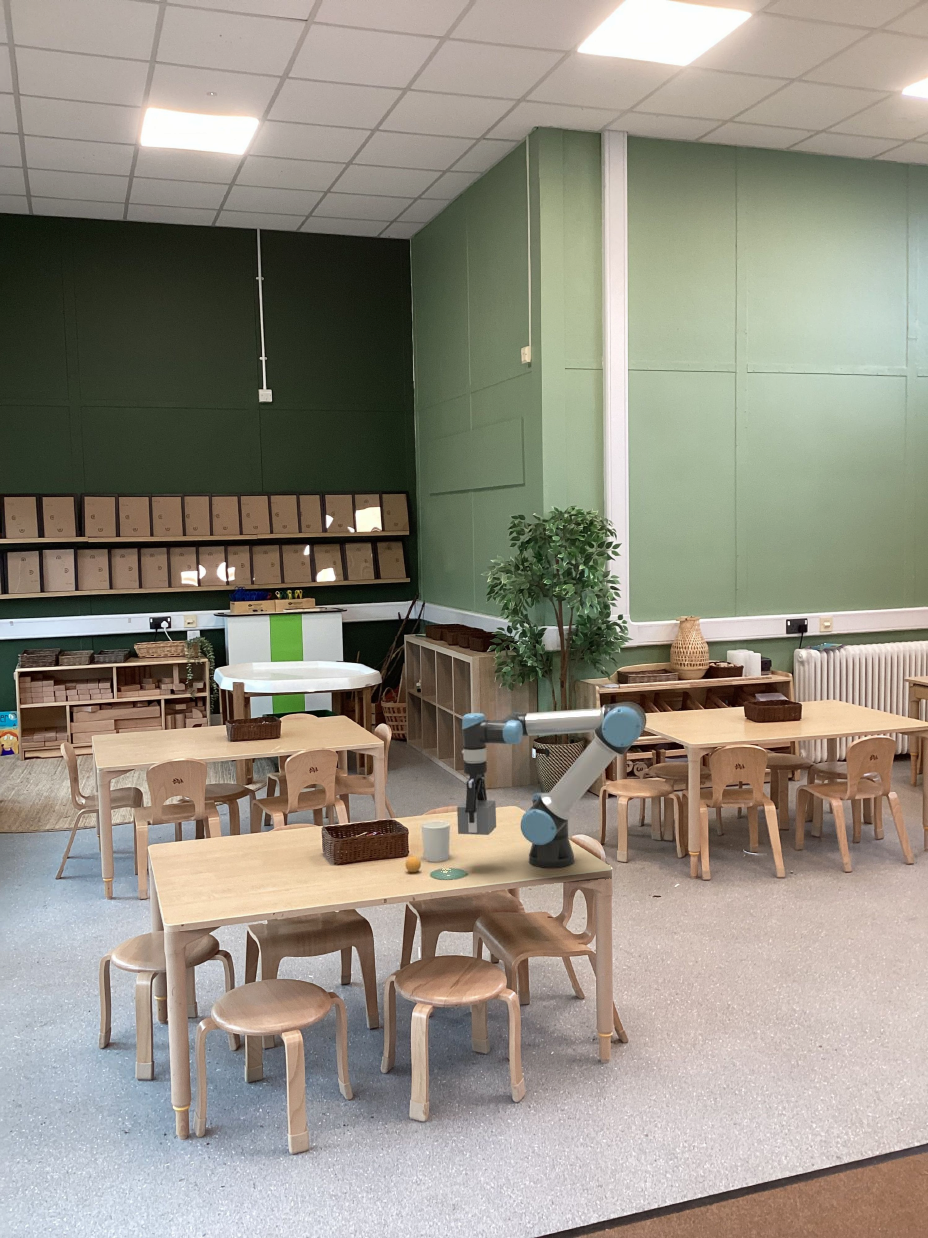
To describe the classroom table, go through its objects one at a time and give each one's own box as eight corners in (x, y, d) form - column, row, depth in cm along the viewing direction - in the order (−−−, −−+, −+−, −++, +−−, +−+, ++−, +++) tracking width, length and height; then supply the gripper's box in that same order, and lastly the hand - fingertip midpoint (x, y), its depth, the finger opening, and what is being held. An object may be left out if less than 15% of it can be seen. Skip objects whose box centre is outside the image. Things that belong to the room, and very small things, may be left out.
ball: (423, 870, 355) (422, 855, 355) (418, 875, 350) (417, 859, 350) (408, 869, 356) (408, 854, 356) (403, 874, 352) (403, 859, 351)
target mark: (471, 869, 354) (471, 869, 354) (461, 881, 343) (461, 880, 343) (436, 867, 357) (436, 867, 357) (425, 878, 346) (425, 878, 346)
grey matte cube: (496, 827, 357) (495, 800, 356) (488, 835, 347) (487, 808, 347) (466, 825, 360) (465, 799, 359) (458, 833, 350) (457, 807, 350)
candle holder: (447, 863, 362) (446, 828, 361) (419, 862, 364) (418, 827, 363) (453, 855, 372) (452, 820, 371) (426, 854, 374) (425, 820, 373)
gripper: (473, 754, 364) (475, 818, 365) (454, 767, 342) (456, 836, 344) (494, 754, 362) (497, 819, 363) (476, 768, 340) (479, 837, 342)
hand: (477, 828), depth 353 cm, fingers closed on grey matte cube, 10 cm apart
